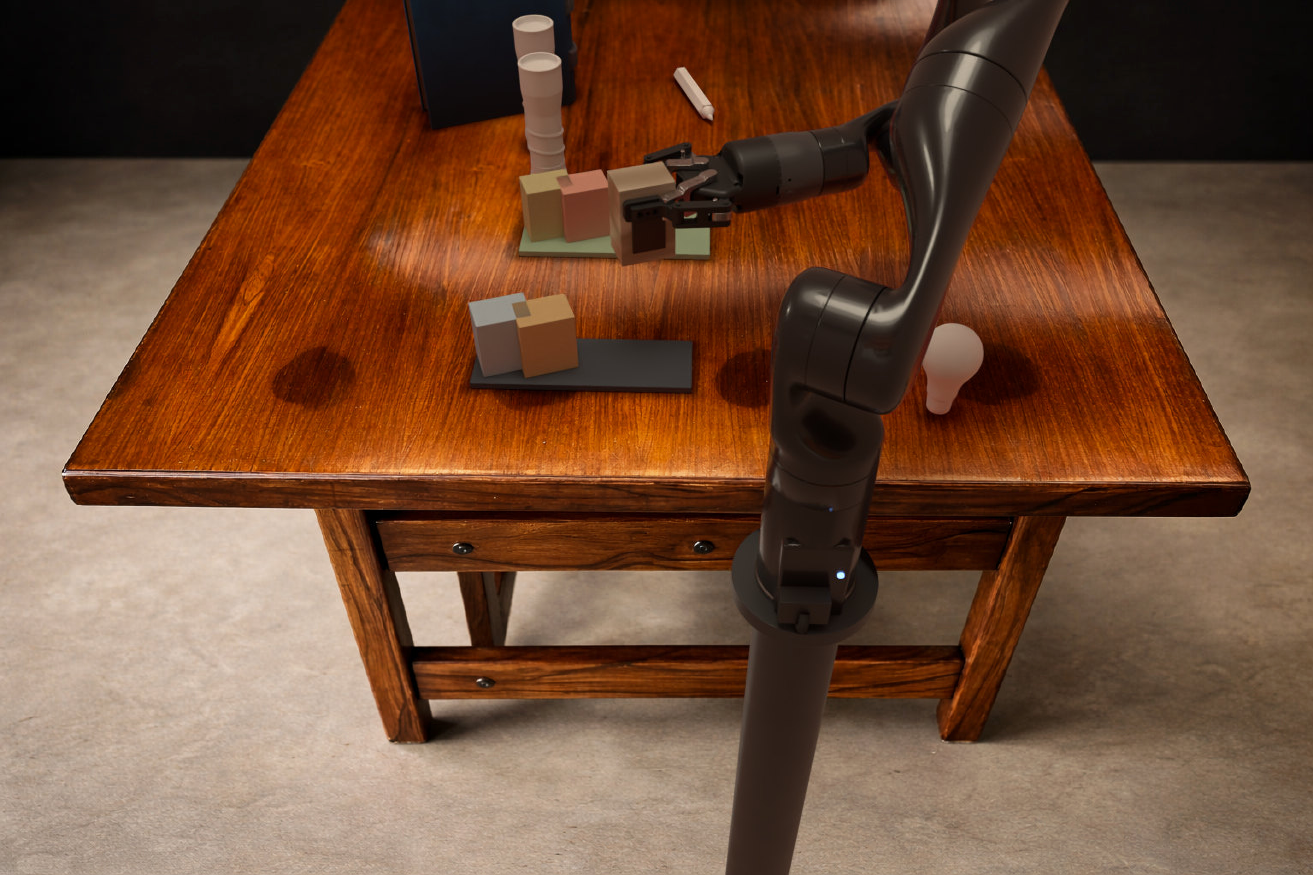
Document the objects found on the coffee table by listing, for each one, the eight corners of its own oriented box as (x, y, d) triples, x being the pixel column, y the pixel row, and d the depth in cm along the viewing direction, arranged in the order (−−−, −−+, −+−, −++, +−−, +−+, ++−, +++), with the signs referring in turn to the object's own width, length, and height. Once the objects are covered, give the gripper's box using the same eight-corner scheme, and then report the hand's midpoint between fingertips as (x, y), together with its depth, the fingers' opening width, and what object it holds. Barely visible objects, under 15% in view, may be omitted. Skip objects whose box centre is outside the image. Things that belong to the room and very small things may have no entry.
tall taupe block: (676, 258, 109) (676, 183, 103) (622, 268, 108) (619, 193, 102) (663, 235, 113) (662, 161, 106) (610, 245, 111) (606, 170, 105)
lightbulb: (978, 417, 108) (1003, 336, 100) (935, 439, 105) (956, 357, 98) (938, 385, 111) (958, 303, 104) (895, 405, 109) (913, 323, 101)
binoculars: (571, 197, 139) (563, 69, 126) (531, 200, 138) (518, 72, 125) (560, 135, 151) (551, 13, 138) (523, 138, 150) (511, 16, 138)
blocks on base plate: (691, 393, 110) (693, 337, 105) (470, 388, 111) (460, 332, 106) (692, 346, 116) (693, 290, 111) (481, 341, 117) (472, 286, 111)
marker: (711, 131, 153) (678, 83, 164) (723, 123, 153) (689, 76, 163) (703, 118, 151) (671, 71, 162) (715, 110, 151) (682, 63, 162)
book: (568, 78, 164) (553, -130, 143) (585, 101, 158) (573, -111, 137) (419, 105, 158) (381, -108, 137) (432, 130, 152) (394, -88, 131)
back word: (709, 260, 128) (711, 205, 123) (518, 256, 129) (512, 202, 123) (709, 216, 135) (711, 163, 130) (528, 213, 136) (523, 160, 130)
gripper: (748, 108, 111) (596, 132, 107) (801, 173, 101) (635, 202, 97) (744, 170, 116) (599, 195, 112) (794, 237, 106) (637, 268, 103)
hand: (617, 198), depth 105 cm, fingers closed on tall taupe block, 4 cm apart
